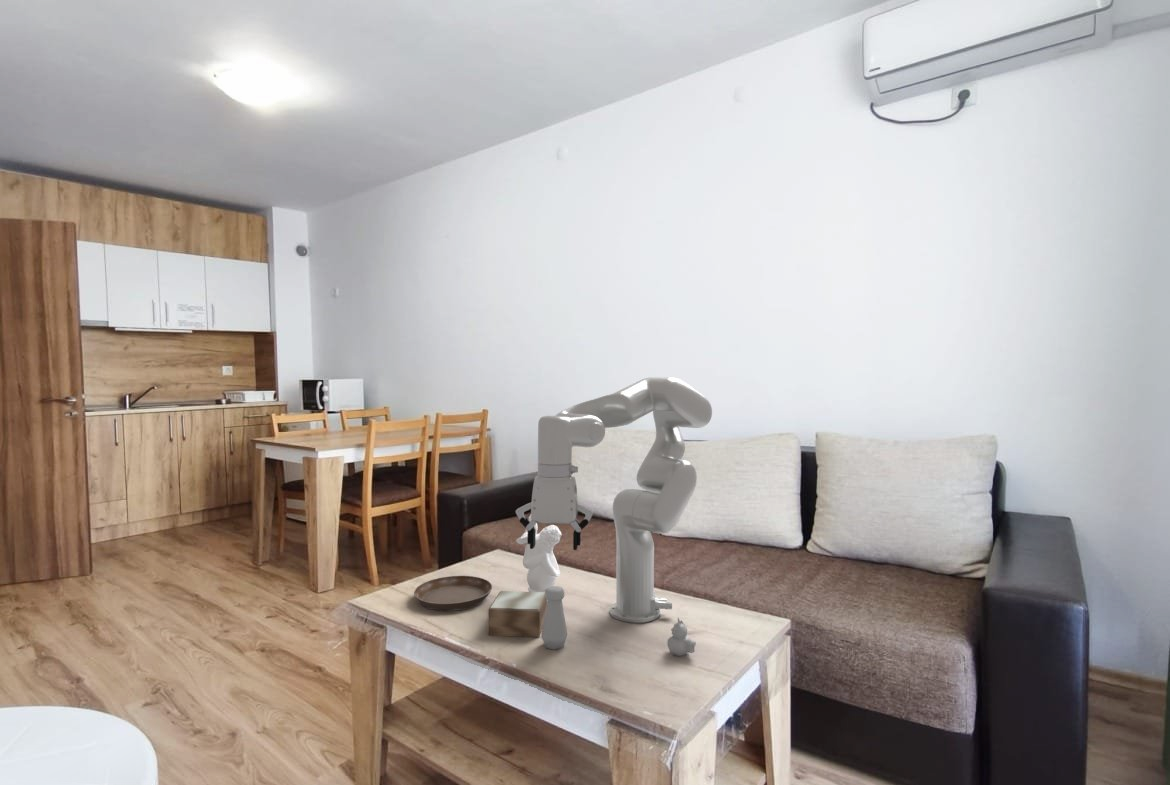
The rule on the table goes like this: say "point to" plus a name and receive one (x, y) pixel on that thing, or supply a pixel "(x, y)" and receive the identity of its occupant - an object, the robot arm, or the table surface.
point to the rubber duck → (680, 640)
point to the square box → (517, 614)
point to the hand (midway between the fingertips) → (554, 547)
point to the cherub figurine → (541, 558)
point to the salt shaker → (554, 619)
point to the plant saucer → (453, 592)
